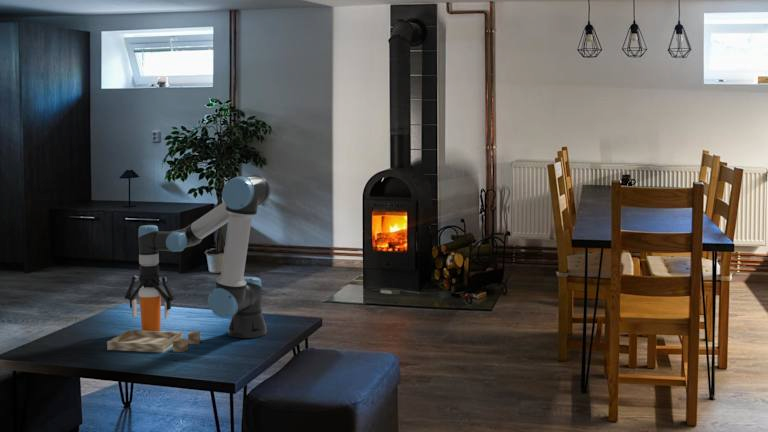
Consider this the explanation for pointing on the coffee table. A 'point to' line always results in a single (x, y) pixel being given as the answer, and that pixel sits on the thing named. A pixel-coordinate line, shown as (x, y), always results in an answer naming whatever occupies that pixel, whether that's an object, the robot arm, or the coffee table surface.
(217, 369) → the coffee table surface
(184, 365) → the coffee table surface
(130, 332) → the tray
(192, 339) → the oak block
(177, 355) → the coffee table surface
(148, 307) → the shaker bottle
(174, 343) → the oak block
